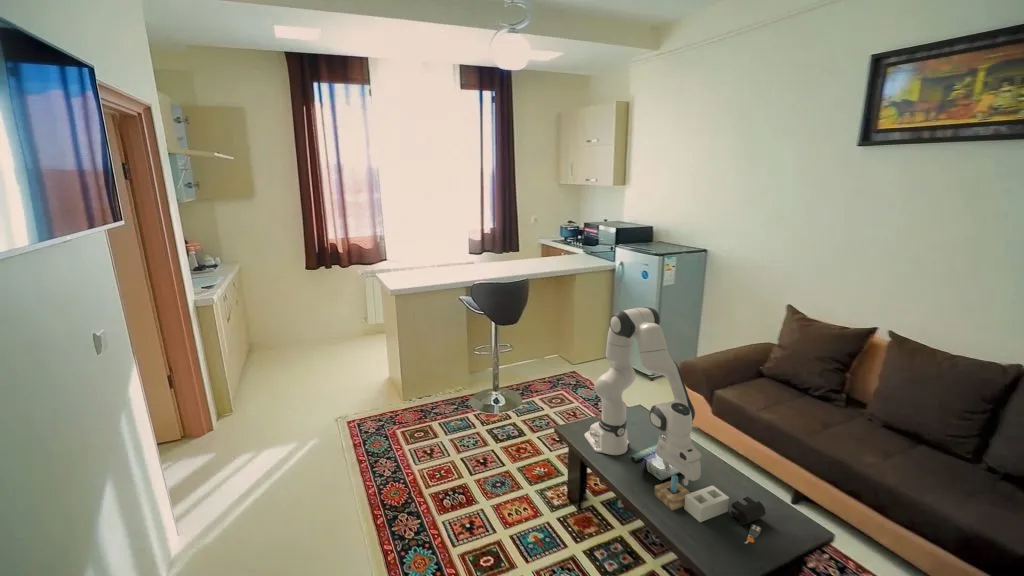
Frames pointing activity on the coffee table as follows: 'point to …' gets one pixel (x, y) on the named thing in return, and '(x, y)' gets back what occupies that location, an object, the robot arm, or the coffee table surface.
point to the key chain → (753, 533)
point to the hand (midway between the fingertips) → (676, 477)
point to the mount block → (671, 495)
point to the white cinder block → (706, 503)
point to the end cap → (747, 511)
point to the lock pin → (674, 484)
